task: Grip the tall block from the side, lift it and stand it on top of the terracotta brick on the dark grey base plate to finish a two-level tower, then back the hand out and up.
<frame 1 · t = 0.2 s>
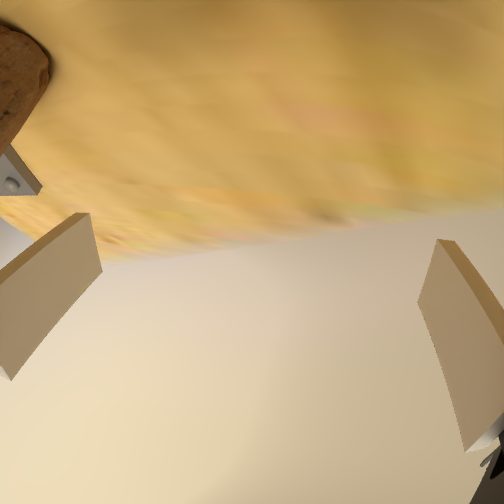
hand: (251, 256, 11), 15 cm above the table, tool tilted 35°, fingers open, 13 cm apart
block: (15, 56, 17), on the table
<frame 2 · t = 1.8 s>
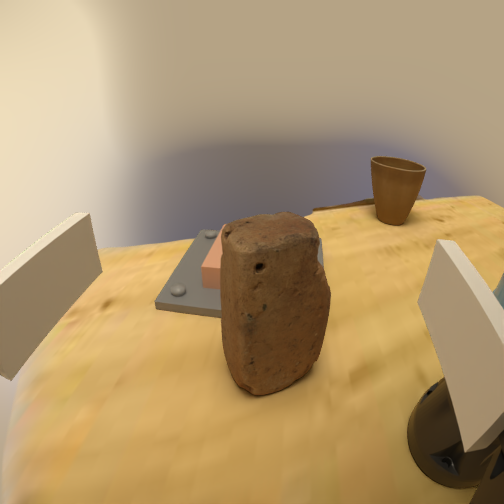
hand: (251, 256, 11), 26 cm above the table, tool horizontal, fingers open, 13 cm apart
plant pot: (389, 220, 80), on the table
tower base: (250, 272, 58), on the table
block: (271, 371, 38), on the table
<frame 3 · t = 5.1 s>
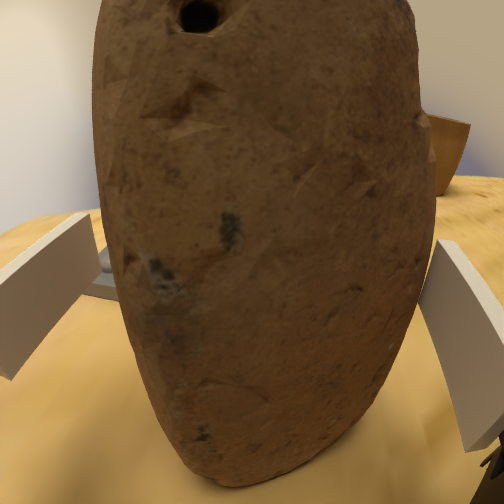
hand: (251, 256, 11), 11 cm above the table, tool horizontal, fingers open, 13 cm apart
plant pot: (425, 190, 58), on the table
tower base: (237, 241, 36), on the table
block: (264, 425, 16), on the table, touching gripper
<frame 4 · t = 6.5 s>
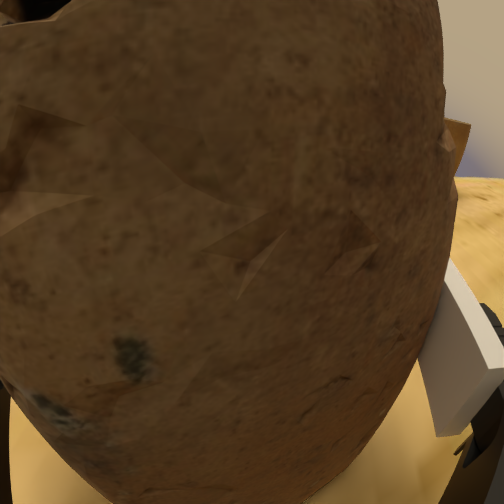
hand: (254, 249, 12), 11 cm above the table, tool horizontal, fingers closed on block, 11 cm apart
plant pot: (423, 194, 56), on the table
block: (242, 469, 14), on the table, touching gripper
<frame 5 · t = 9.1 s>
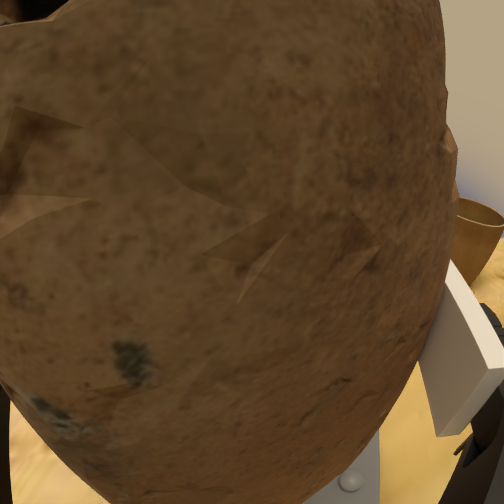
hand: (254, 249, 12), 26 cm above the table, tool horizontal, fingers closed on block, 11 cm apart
plant pot: (449, 282, 55), on the table
tower base: (264, 401, 34), on the table
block: (242, 470, 14), point 15 cm above the table, touching gripper
when the fingers open (18 cm above the table, at t = 12.1 s): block drops 1 cm, resting on tower base.
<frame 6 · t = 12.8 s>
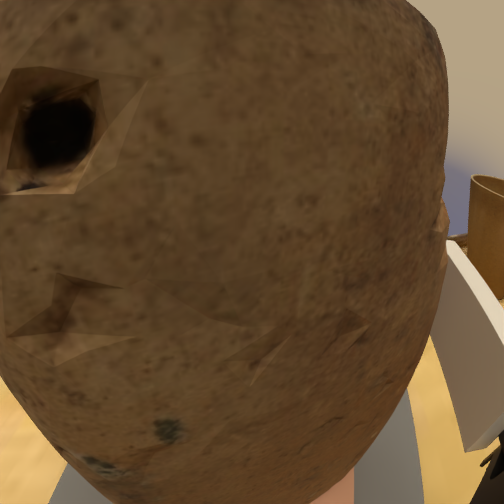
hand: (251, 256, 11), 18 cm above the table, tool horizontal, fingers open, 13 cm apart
plant pot: (484, 287, 40), on the table
tower base: (241, 501, 17), on the table
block: (246, 478, 15), point 5 cm above the table, touching tower base
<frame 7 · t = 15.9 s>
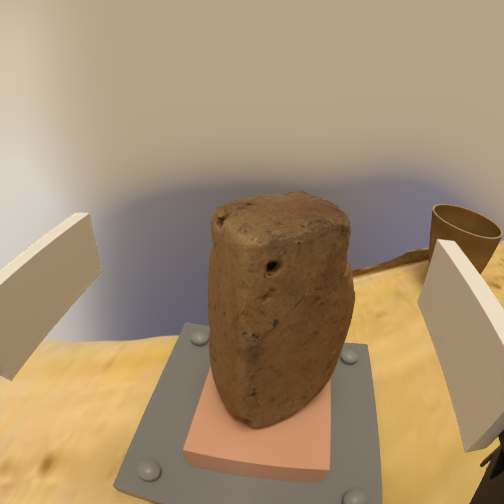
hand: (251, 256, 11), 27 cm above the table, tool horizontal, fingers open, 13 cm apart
plant pot: (443, 291, 56), on the table
tower base: (263, 420, 33), on the table
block: (270, 395, 30), point 5 cm above the table, touching tower base
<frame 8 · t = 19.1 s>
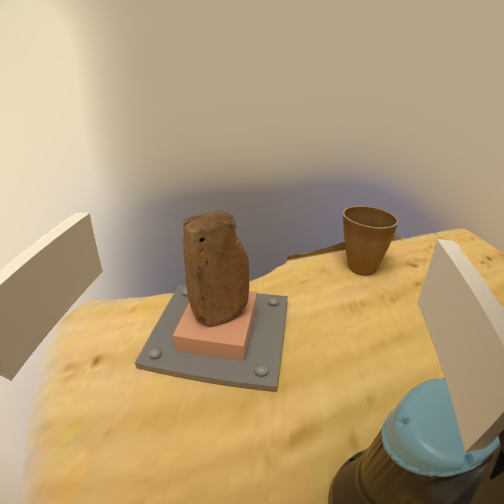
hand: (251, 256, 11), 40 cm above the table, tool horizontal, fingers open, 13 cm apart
plant pot: (360, 268, 87), on the table
tower base: (219, 333, 64), on the table
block: (219, 313, 61), point 5 cm above the table, touching tower base
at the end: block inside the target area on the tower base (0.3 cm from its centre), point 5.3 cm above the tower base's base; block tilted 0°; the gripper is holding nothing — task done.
